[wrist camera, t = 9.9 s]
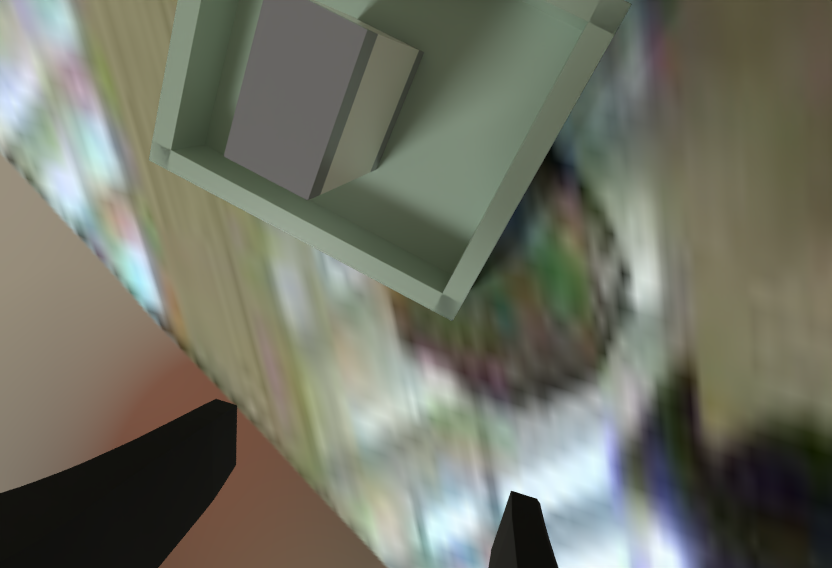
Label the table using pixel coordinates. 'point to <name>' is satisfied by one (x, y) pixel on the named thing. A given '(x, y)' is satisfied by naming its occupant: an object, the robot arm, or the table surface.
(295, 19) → the block
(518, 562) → the robot arm
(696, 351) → the table surface
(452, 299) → the parts tray
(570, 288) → the table surface
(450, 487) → the table surface
